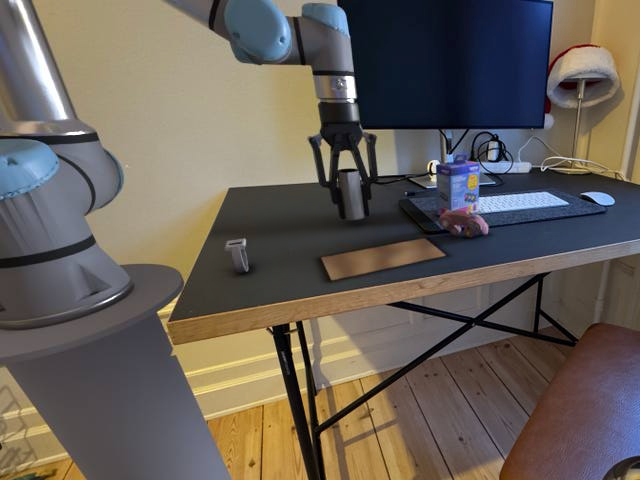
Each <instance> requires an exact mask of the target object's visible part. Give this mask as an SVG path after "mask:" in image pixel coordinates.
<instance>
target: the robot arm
mask: <svg viewBox="0 0 640 480" xmlns="http://www.w3.org/2000/svg"><path fill="white" fill-rule="evenodd" d="M160 1H161V2H162V3H164V4H166V5H167V6H169V7H171V8H173V9H175V10H176V11H178V12H180V13H181V14H183V15H184V16H186V17H187V18H189V19H191V20H193V21H195V22H196V23H198V24H200V25H201V26H202V27H205V28H207V29H208V30H210V31H211V32H213V33H215V34H216V35H218V36H219V37H221V38H222V39H224V40H226V41H228V42H229V46H230V49H231V51H232V54H233V56H234V59H236V60H237V61H238V62H239V63H241V64H248V65H249V64H250V65H256V66H263V65H265V66H266V65H267V66H303V67H304V66H305V67H306V66H308V67H309V66H310V68H311V74H312V79H313V80H312V81H313V86H314V91H315V98H316V99H317V100H319V102H318V104H317V110H318V115H319V122H320V129H319V133H316V134H314V135H312V136H311V135H308V136H307V137H306V140H307V142H308V144H309V145H310V148H311V149H312V154H313V159H314V165H315V170H316V175H317V181H318V184H319V185H320V186H321V187H322V188H326V189H328V190H329V194H330V201H331V203H332V204H333V205H336V206H337V211H338V217H339V218H340V219H341V221H342V220H346V219H345V213H344V207H343V200H342V194H341V189H340V188H339V186H338V178H337V176H338V170H339V165H340V164H339V162H340V156H341V152H344V151H345V152H346V151H349V152H350V154H351V156H352V159H353V161H354V164H355V166H356V167H355V168H356V169H358V170H359V174H360V181H361V189H362V196H363V204H364V211H365V217H369V216H370V215H371V214H370V210H369V208H370V207H369V201H371V200H372V199H373V196H372V188H371V186H372V184H374V183H377V182H379V171H378V162H377V154H376V144H377V140H378V136H377V134H374V133H369V132H366V131H364V129H363V126H362V125H361V117H360V116H361V115H360V109H359V103H357V102H355V100H357V99H358V93H357V87H356V79H355V71H354V62H353V52H352V43H351V35H350V32H349V25H348V20H347V15H346V12H345V10H344V9H343V8H342V7H340V6H338V5H337V4H336V5H335V4H331V3H326V2H306V3H304V4H302V6H301V13H300V16H299V15H297V16H290V15H285V14H284V13H283V11H282V10H281V9H280V8H279V6H278V5H277V4H276V3H274V2H273V1H272V0H160ZM362 139H363V140H364V143H365V145H366V155H367V165H368V172H367V169H366V165H365V163H364V161H363V158H362V155H361V151H360V148H359V144H360V142H361V141H362ZM322 140H323V141H324V142H325V143H326V144H327V145H328V146H329V148H330V149H329V150H330V151H329V153H330V156H329V170H328V180H327V176H326V171H325V166H324V161H323V153H322V150H321V146H322ZM368 173H369V174H368ZM124 183H125V173H124V170H123V166H122V165H121V163H120V162H119V160H118V159H117V157H116V156H115V155H114V154H113V153H112V152H111V151H110V150H108V149H106V148H105V147H103V145H102V142H101V140H100V137H99V134H98V132H97V130H96V128H95V127H93V126H91V125H89V124H88V123H86V122H84V121H83V120H81V119H80V118H79V115H78V113H77V111H76V107H75V105H74V103H73V100H72V97H71V95H70V92H69V90H68V87H67V85H66V82H65V80H64V78H63V75H62V72H61V69H60V67H59V64H58V62H57V59H56V56H55V54H54V52H53V49H52V47H51V44H50V41H49V39H48V36H47V34H46V31H45V29H44V26H43V24H42V21H41V18H40V16H39V13H38V11H37V9H36V5H35V3H34V0H0V329H3V330H28V329H36V328H42V327H48V326H52V325H57V324H61V323H65V322H69V321H72V320H76V319H79V318H82V317H85V316H88V315H91V314H93V313H96V312H99V311H101V310H103V309H106V308H108V307H110V306H112V305H114V304H116V303H117V302H119V301H121V300H122V299H124V298H125V297H127V296H128V295H129V294H130V293H131V292H132V290H133V289H134V285H133V282H132V280H131V278H130V276H129V275H128V274H127V273H126V272H125V271H124V270H123V269H122V268H121V267H120V266H119V265H120V264H118V263H117V261H115V260H114V259H113V258H112V257H111V256H110V255H109V254H108V253H107V252H106V251H104V249H102V247H100V245H99V244H98V241H97V240H96V238H95V236H94V233H93V232H92V230H91V227H90V225H89V224H88V221H87V219H86V216H88V215H90V214H93V212H95V211H97V210H100V209H103V208H105V207H107V206H108V205H109V204H111V203H112V202H113V201H114V200H115V199H116V197H117V196H118V195H119V194H120V193H121V191H122V190H123V186H124Z"/></svg>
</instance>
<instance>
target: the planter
mask: <svg viewBox="0 0 640 480" xmlns="http://www.w3.org/2000/svg"><path fill="white" fill-rule="evenodd" d="M361 184H362V181H361V177H360V174H359V170H358V169H357V168H352V167H351V168H347V167H346V168H341V169H338V176H337V185H338V187H339V188H340V189H341V194H342V200H343V207H344V213H345V219H344V220H348V221H356V220H362V219H364V218H365V217H366V215H365V211H364V204H363V196H362V189H361Z"/></svg>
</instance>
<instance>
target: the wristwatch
mask: <svg viewBox="0 0 640 480" xmlns="http://www.w3.org/2000/svg"><path fill="white" fill-rule="evenodd" d="M246 246H247V239H246V238H238V239H231V240H227V241H226V243H225V246H224V251H225V252H230V255H231V259H232V262H233V266H234V269H235V271H236V272H237V273H238V274H241V273H242V274H243V273H248V271H249V261H248V255H247V252H246Z"/></svg>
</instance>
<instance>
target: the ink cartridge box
mask: <svg viewBox="0 0 640 480" xmlns="http://www.w3.org/2000/svg"><path fill="white" fill-rule="evenodd" d="M468 156H469V152H465V153H459V154H456V155H455V157H454V160H453V161H446V162H443V163H438V164H435V178H436V179H435V181H436V212H437V214H436V215H438V216H439V217H440V216H441V215H442V214H443V213H445V212H446V210H450V211H454V210H466V211H468V212H471V213H478V212H479V200H480V199H479V198H480V196H479V195H480V170H481V166H480V165H481V164H480V162H476V161H472V160H467V158H468ZM461 157H463V158H461ZM476 208H477V209H476ZM472 209H474V210H472ZM469 210H470V211H469Z"/></svg>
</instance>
